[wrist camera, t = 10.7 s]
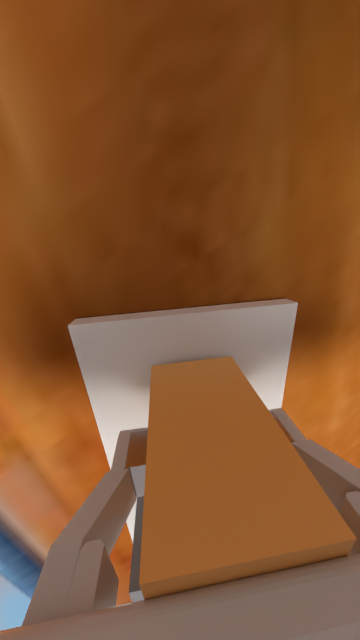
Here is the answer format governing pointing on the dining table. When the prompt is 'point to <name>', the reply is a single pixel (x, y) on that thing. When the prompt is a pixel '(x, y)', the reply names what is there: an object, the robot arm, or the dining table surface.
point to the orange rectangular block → (225, 486)
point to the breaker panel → (174, 347)
